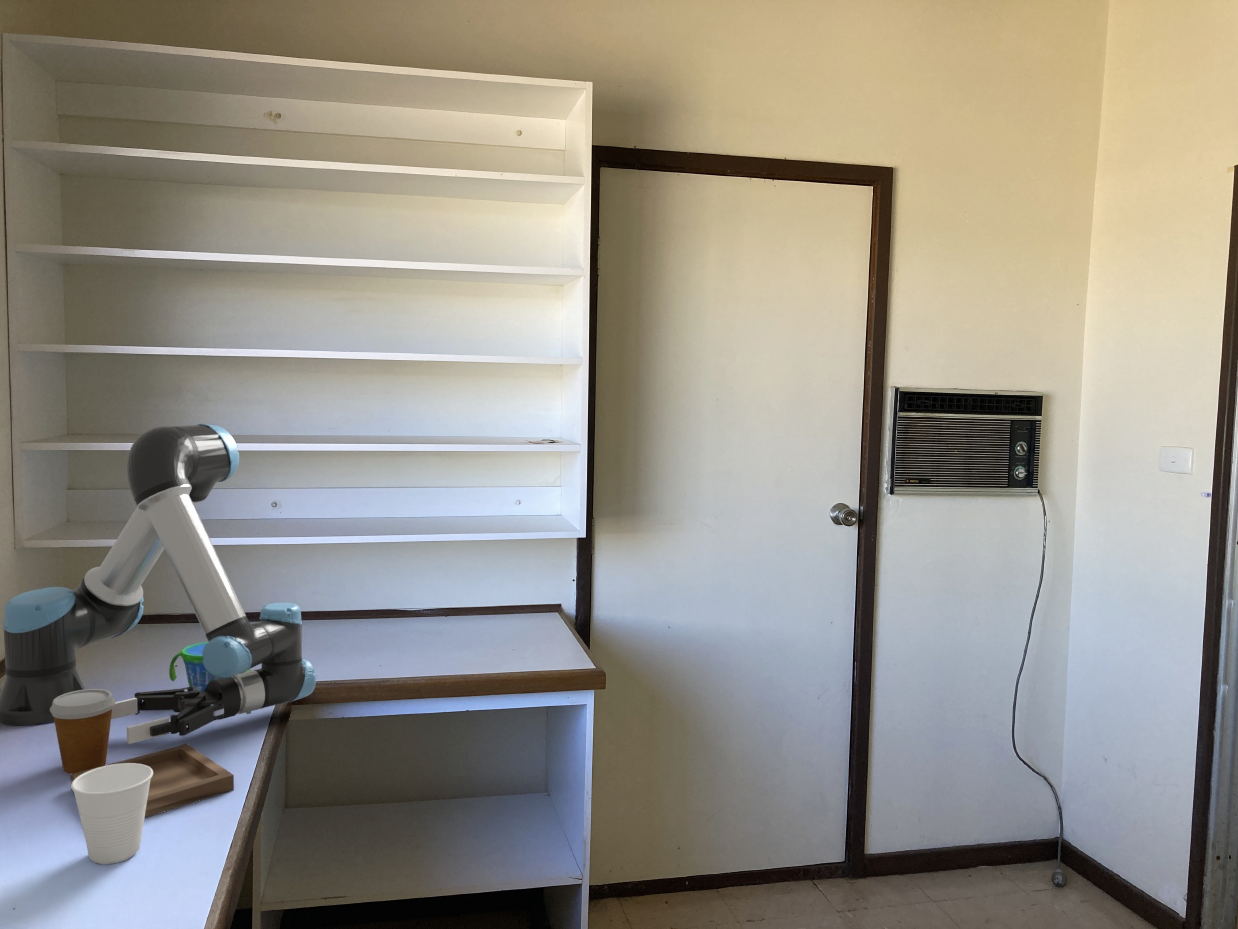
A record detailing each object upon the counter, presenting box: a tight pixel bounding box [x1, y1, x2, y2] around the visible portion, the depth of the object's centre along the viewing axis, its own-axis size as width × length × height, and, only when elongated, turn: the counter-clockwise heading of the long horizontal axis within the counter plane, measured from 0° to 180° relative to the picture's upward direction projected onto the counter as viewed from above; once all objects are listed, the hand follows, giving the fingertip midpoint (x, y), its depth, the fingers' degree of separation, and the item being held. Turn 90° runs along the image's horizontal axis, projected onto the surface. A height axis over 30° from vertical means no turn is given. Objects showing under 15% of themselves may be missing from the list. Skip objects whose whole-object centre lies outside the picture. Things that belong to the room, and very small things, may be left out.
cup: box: [70, 763, 153, 865], centre depth 127 cm, size 10×10×11 cm
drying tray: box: [70, 743, 235, 819], centre depth 147 cm, size 18×18×2 cm
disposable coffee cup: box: [50, 688, 116, 775], centre depth 155 cm, size 10×10×12 cm
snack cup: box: [168, 641, 251, 691], centre depth 190 cm, size 16×10×10 cm
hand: (111, 724), depth 157 cm, fingers open, 13 cm apart
